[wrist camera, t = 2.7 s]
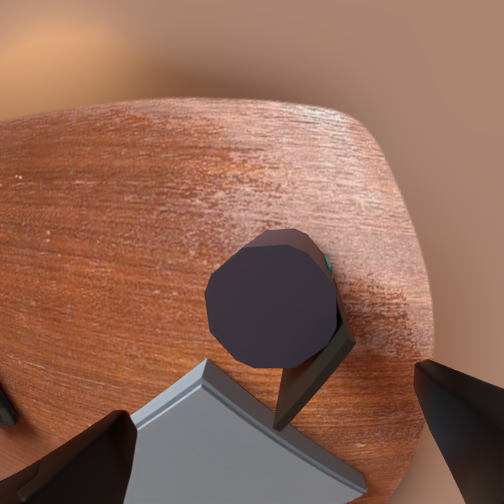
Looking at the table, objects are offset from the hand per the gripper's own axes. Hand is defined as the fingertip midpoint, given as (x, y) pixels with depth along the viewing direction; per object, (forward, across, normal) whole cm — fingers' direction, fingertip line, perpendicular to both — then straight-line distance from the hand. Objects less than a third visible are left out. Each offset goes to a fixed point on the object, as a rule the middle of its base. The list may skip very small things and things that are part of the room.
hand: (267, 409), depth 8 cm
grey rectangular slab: (+13, +14, +23) cm, 30 cm away
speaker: (+14, 0, 0) cm, 14 cm away
